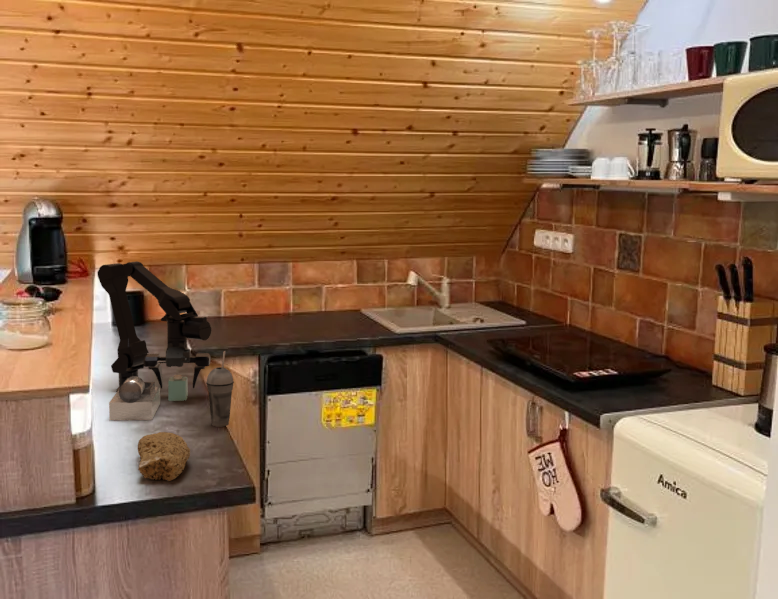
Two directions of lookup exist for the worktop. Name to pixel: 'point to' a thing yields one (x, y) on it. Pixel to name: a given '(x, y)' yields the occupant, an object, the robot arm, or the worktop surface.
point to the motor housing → (135, 400)
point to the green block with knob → (178, 388)
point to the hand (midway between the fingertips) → (177, 388)
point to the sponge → (162, 455)
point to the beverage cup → (220, 394)
